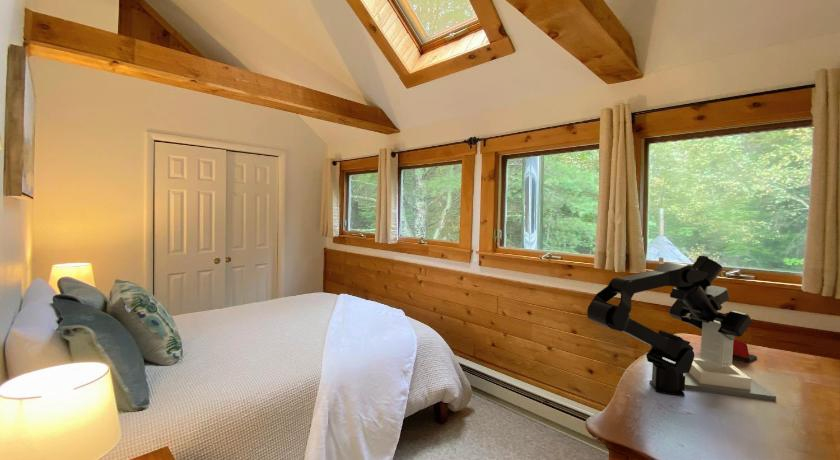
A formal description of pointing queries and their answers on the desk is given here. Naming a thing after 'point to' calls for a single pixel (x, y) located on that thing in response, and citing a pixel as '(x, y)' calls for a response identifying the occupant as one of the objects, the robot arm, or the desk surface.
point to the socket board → (723, 381)
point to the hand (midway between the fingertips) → (720, 335)
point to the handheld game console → (741, 352)
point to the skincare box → (715, 345)
